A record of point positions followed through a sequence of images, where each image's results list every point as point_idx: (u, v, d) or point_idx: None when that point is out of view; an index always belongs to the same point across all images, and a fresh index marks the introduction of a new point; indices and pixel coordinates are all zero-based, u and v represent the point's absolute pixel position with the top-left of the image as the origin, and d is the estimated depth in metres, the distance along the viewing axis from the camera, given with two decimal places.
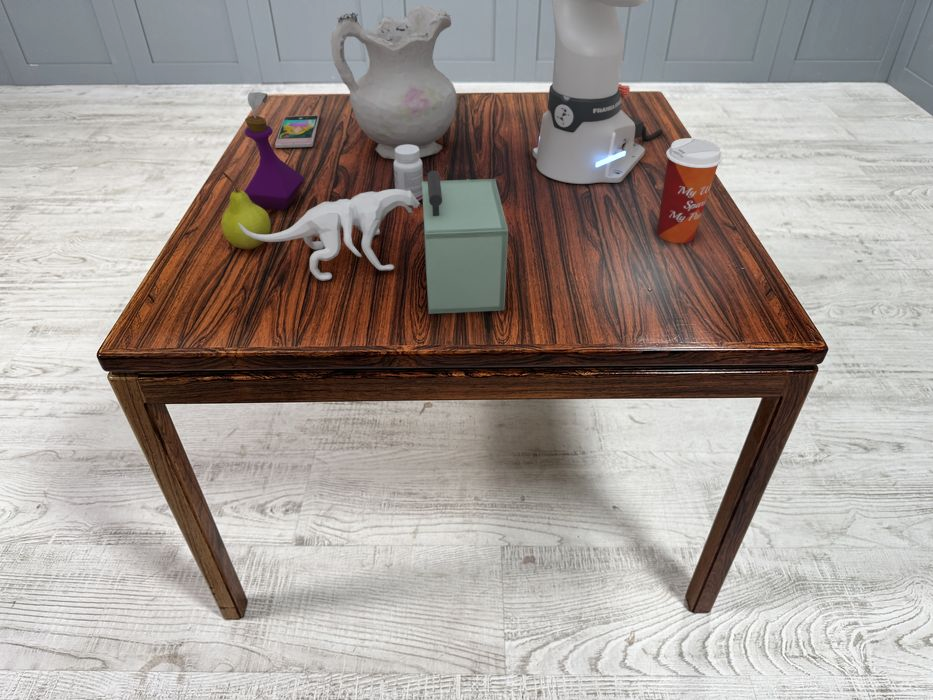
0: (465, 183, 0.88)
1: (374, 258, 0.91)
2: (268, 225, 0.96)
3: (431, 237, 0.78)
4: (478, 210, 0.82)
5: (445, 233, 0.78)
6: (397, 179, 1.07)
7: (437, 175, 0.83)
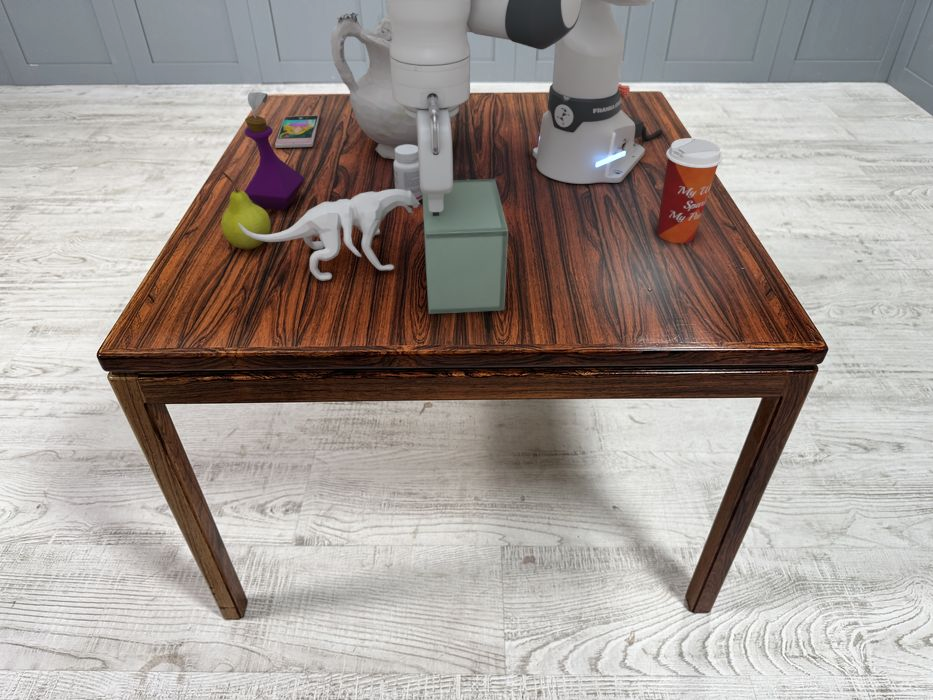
0: (465, 183, 0.88)
1: (374, 258, 0.91)
2: (268, 225, 0.96)
3: (431, 237, 0.78)
4: (478, 210, 0.82)
5: (445, 233, 0.78)
6: (397, 179, 1.07)
7: None
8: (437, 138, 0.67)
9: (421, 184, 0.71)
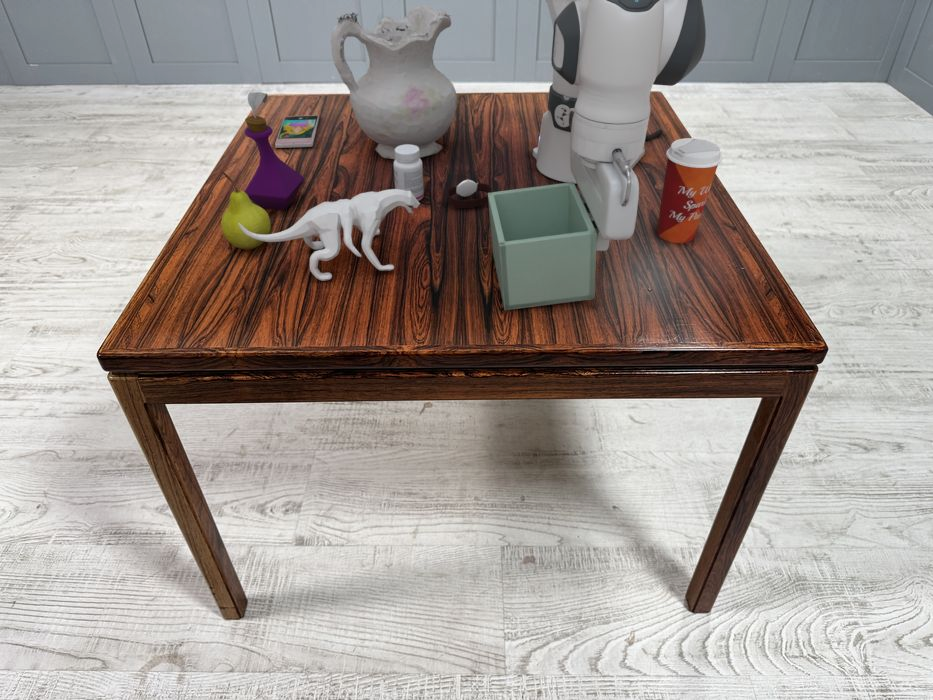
0: None
1: (374, 258, 0.91)
2: (268, 225, 0.96)
3: (592, 239, 0.80)
4: None
5: None
6: (397, 179, 1.07)
7: None
8: (629, 192, 0.73)
9: (606, 232, 0.76)
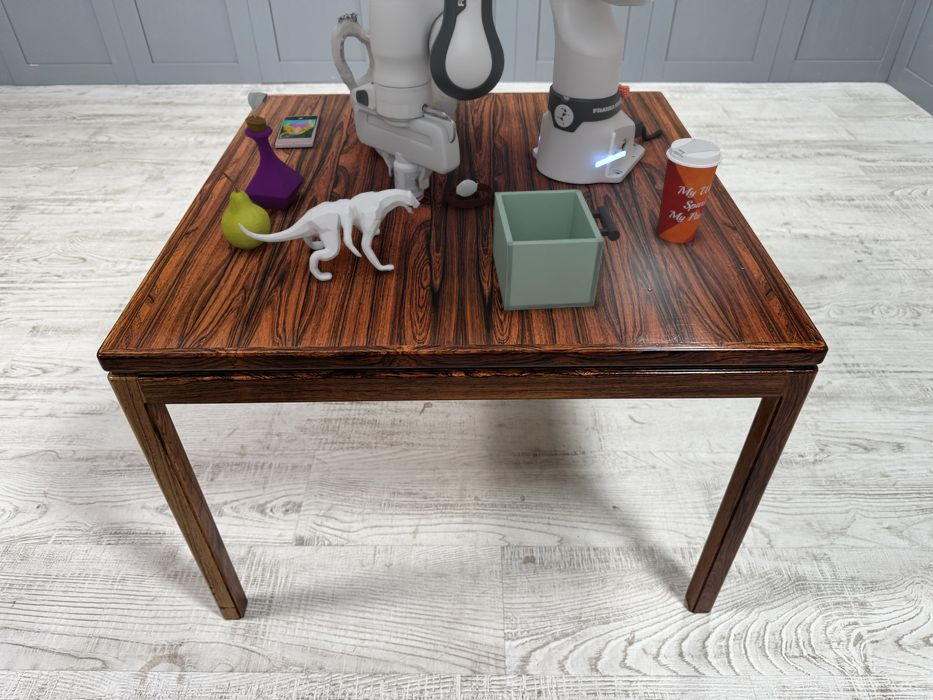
0: None
1: (374, 258, 0.91)
2: (268, 225, 0.96)
3: (598, 246, 0.81)
4: None
5: None
6: (397, 179, 1.07)
7: None
8: (454, 130, 0.97)
9: (445, 167, 0.99)
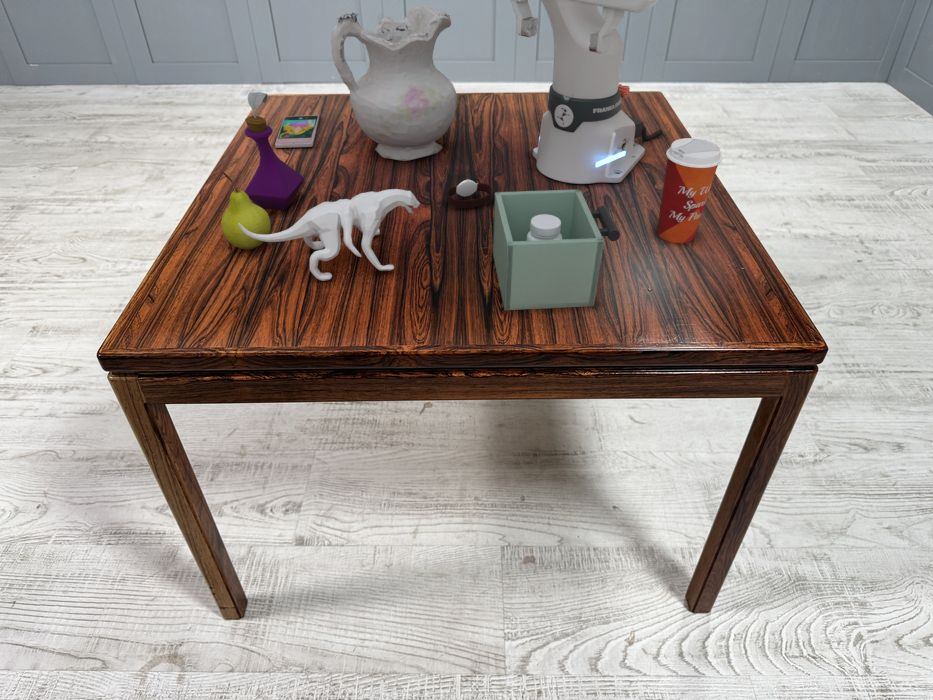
0: None
1: (374, 258, 0.91)
2: (268, 225, 0.96)
3: (598, 246, 0.81)
4: None
5: None
6: None
7: None
8: None
9: None
